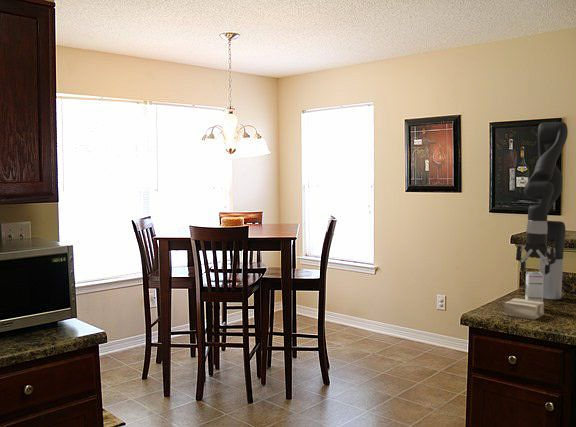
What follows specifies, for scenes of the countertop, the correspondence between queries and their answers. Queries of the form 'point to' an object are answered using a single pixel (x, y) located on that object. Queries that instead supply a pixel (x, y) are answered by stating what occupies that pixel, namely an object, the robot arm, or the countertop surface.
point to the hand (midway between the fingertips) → (534, 272)
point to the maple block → (524, 308)
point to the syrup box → (534, 286)
